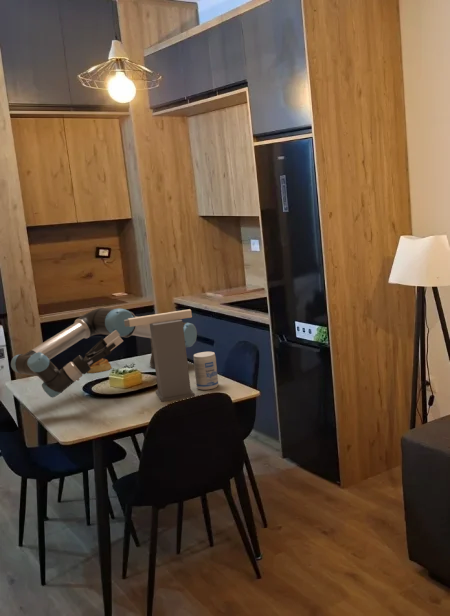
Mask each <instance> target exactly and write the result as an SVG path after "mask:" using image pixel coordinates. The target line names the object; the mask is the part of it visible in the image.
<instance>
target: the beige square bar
mask: <svg viewBox="0 0 450 616" xmlns="http://www.w3.org/2000/svg"><path fill="white" fill-rule="evenodd" d="M192 317H193V315H192V310H191V309H190V308H189V309H182V310H175V311H169V312H163V313H156V314H155V313H154V314H149V315H142V316H137V317H134V318H128V319H127V320H124V324H125V327H126V326H130V327H132V326H138V325H145V324H151V323H158V322H165V321H171V320H178V319H181V320H182V319H190V318H192Z"/></svg>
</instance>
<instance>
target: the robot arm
mask: <svg viewBox="0 0 450 616" xmlns="http://www.w3.org/2000/svg"><path fill="white" fill-rule="evenodd" d="M134 317H138V316H136V315H135V314H134V313H133V312H132V311H129V310H127V309H125V308H122V307H121V308H119V307H118V308H109V307H108V308H107V307H98V308H95V309H92V310H90V311H88V312H87V313H84V314H83V315H81V316H79V317H77V318H76V319H75V320H74V322H73V324H71V325H70V326H68V327H66V328H65V329H62V330H61V331H60V332H58V333H56V334H55V335H53V336H52V337H50V338H48V339H46V340H45V341H44V342H42V343H40V344H38V345H37V346H36V347H34V348H32V349H31V350H29V351H27V352H26V353H24V354H23V353H21V354H16V355H14V356H13V357H12V358H11V361H10V367H11V369H12V371H13V372H15V373H17V374H21V375H29V376H36V377H38V378H39V379H40V380H41V381H42V382H43V383H42V384H41V387H42V390H43V391H44V392H45V393H46V394H47V396H48V397H50V398H53V399H54V398H55V397H57V396H58V395H60V394H63V392H64V391H65V390H66V389H68V388H69V387H70V386H71V385H72V384H74V383H75V382H77V381H78V382H79V381H80V378H81V377H83V375H85V374H87V372H88V371H89V370H90V369H91V368H90V366H92V365H93V364H94V363H96V362H97V361H99V360H100V359H102V358H103V359H105V357H107V356H109V355H111V354H112V352H113V350H114V349H115V348H117V347H118V346H119V345H121V344H122V343H123V342H124V340H123V339H122V338H129V337H131V336H136V337H141V338H148V339H150V340H149V341H150V347H151V355H150V359H149V365H150V366H149V367H150V368H151V369H155V362H154V354H153V347H152V339H151V331H150V324H145V325H138V326H132V327H130V326H126V327H125V324H124V320H127V319H128V318H134ZM183 329H184V338H185V346H186V348H190V347H193V346H194V345H195V343H196V341H197V337H198V336H197V335H198V334H197V333H198V331H197V328H196V325H195V324H193V323H190V322H183ZM95 335H106V336H105V338H100V339H99V341H98V342H97V343H96V344H95V345H94V346H92V348H91V349H90V350H89V351H87V352H86V353H85V354H84V357H83V356H82V355H80V354H79V355H77V356H75V358H74V359H72V361H69V362H68V363H66V364H65V365H64V366H63V367H62V368H61V369H59V368H58V367H57V366H56V365H55V364H54V363H53V362H52V361H51V359H53V358H55V357H56V356H57V355H59V354H61V353H63V352H64V351H66V350H68V349H69V348H70V347H72V346H73V345H75V344H77V343H78V342H79V341H82V340H83V339H88V338H90V337H93V336H95Z"/></svg>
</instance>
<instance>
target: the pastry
mask: <svg viewBox="0 0 450 616" xmlns="http://www.w3.org/2000/svg"><path fill="white" fill-rule="evenodd" d="M90 368H91V369H90V370H89V371H88V372H87V373H88V374H97V373H103V372H108V371H110V370H112V368H113V367H112V365H111V363H110V362H109V360H108V359H106V358H102V359H100V360H99V361H97V362H96V363H94V364H93V365H92V366H90ZM87 373H86V374H87Z"/></svg>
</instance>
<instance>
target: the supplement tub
mask: <svg viewBox="0 0 450 616" xmlns="http://www.w3.org/2000/svg"><path fill="white" fill-rule="evenodd" d="M193 367H194V373H195V383H196V388H197V389H198V390H201V391H202V390H203V391H204V390H206V391H207V390H213V389H216V388H217V387H218V386H219V378H218V367H217V357H216V354H215V352H214V351H202V352H197V353H194V354H193Z"/></svg>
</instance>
